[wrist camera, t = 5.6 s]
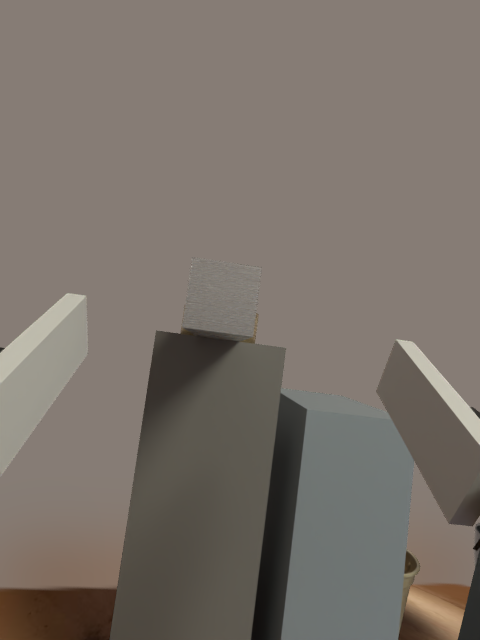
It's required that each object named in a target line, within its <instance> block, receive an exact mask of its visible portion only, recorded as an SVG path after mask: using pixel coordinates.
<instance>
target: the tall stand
mask: <svg viewBox="0 0 480 640" xmlns="http://www.w3.org/2000/svg"><path fill="white" fill-rule="evenodd" d="M285 350H286V348H281V347H274V346H266V345H259V344H252V343H245V342H237V341H230V340H222V339H215V338H207V337H200V336H192V335H185V334H178V333H170V332H163V331H156V335H155V342H154V348H153V355H152V362H151V368H150V375H149V381H148V388H147V395H146V401H145V408H144V414H143V421H142V428H141V434H140V441H139V448H138V454H137V461H136V467H135V474H134V481H133V487H132V494H131V500H130V507H129V514H128V521H127V527H126V533H125V541H124V547H123V553H122V560H121V567H120V574H119V580H118V586H117V593H116V600H115V606H114V613H113V619H112V626H111V633H110V639H109V640H251V633H252V625H253V617H254V608H255V600H256V592H257V584H258V575H259V567H260V559H261V550H262V542H263V534H264V525H265V517H266V509H267V501H268V492H269V484H270V476H271V467H272V459H273V451H274V443H275V434H276V426H277V418H278V409H279V401H280V393H281V385H282V376H283V368H284V360H285Z"/></svg>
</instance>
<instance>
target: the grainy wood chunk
mask: <svg viewBox="0 0 480 640" xmlns="http://www.w3.org/2000/svg"><path fill="white" fill-rule="evenodd" d="M261 271H262V267H256V266H249V265H242V264H235V263H228V262H220V261H214V260H207V259H200V258H192V262H191V269H190V276H189V283H188V291H187V297H186V304H185V306H184V314H183V320H182V327H181V334H185V335H192V336H200V337H207V338H215V339H222V340H230V341H237V342H245V343H252V344H255V339H256V338H255V337H256V331H257V323H258V314H257V313H256V310H257V302H258V295H259V287H260V279H261Z"/></svg>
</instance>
